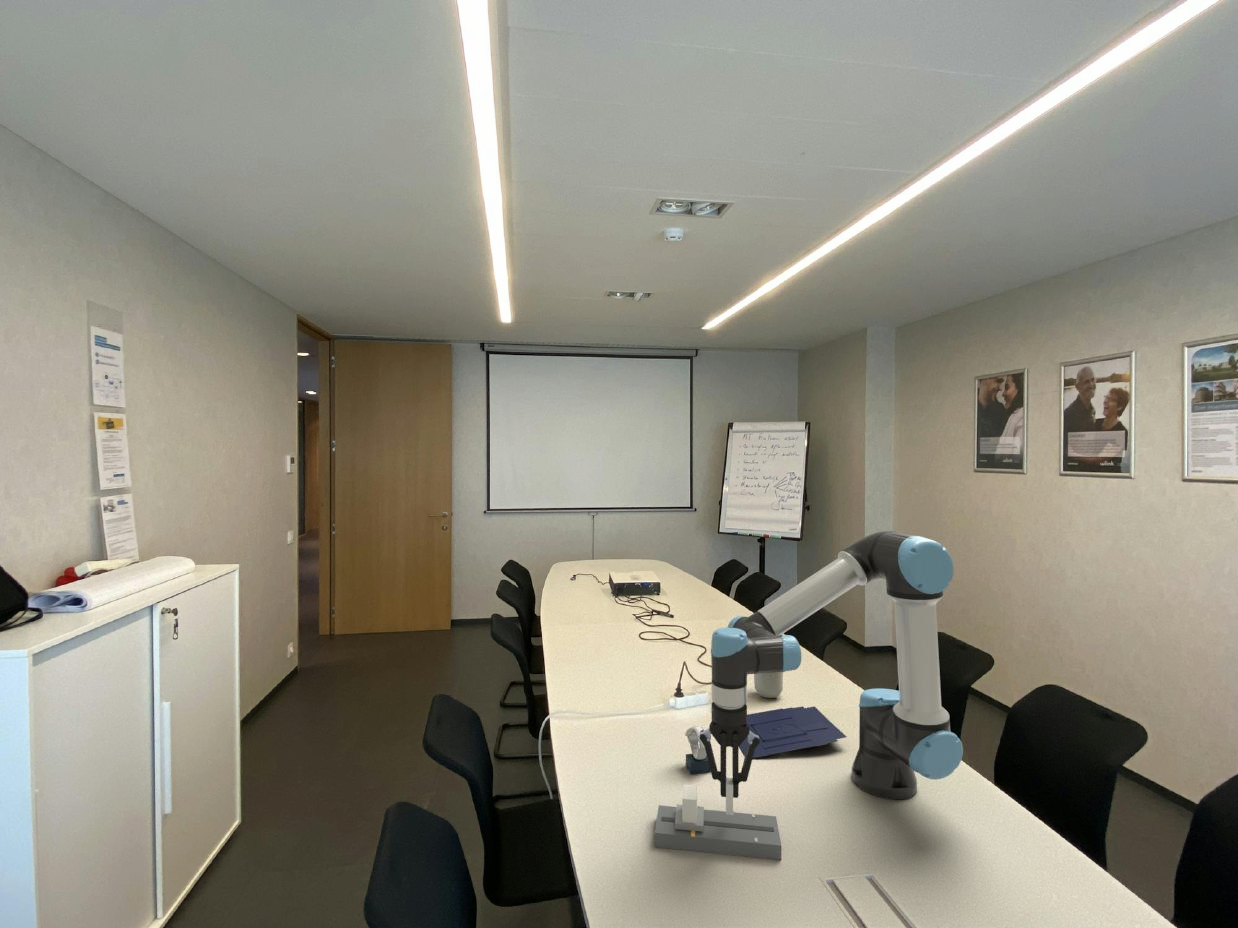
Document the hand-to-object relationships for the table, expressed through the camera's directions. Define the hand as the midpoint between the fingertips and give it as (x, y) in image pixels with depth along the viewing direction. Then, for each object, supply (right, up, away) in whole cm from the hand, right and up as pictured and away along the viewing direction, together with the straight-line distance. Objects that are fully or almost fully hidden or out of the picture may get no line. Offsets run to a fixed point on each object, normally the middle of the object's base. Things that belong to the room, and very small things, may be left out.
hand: (729, 810), depth 129 cm
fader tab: (-8, -3, +1) cm, 9 cm away
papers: (+24, -6, +47) cm, 53 cm away
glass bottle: (+27, -5, +76) cm, 81 cm away
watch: (-3, -6, +29) cm, 30 cm away
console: (-3, -6, 0) cm, 7 cm away
